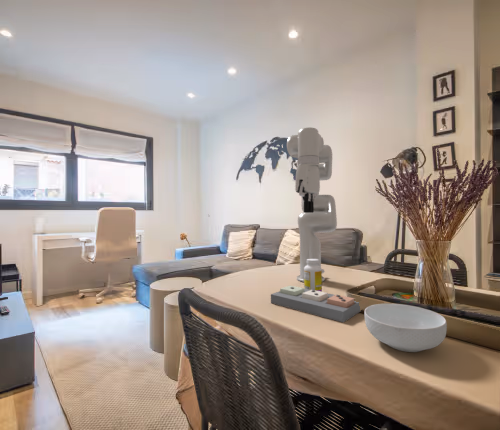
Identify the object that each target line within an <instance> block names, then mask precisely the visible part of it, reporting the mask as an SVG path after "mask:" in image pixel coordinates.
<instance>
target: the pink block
mask: <svg viewBox="0 0 500 430" xmlns="http://www.w3.org/2000/svg"><path fill="white" fill-rule="evenodd" d="M333 295H334V296H332V297H330V298H328V299H327V304H330V305H335V306H339V307H343V308H348V307H350V306H352V305H353V304H354V299H355V297H350V296H344V295H341V294H333Z"/></svg>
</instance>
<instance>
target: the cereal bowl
mask: <svg viewBox="0 0 500 430" xmlns="http://www.w3.org/2000/svg"><path fill="white" fill-rule="evenodd" d="M364 321H365V322H364V323H365V327H366V328H367V330H368V331H369V333H370V334H371V335H372V336H373V338H375V339H377V340H378V341H380V342H381V343H383V344H386V345H387V346H389V347H390V348H392V349H395V350H398V351H401V352H407V353H418V352H422V351H424V350H430V349H433V348H435V347H437V346H438V347H439V345H441V343H442V342H443V341H444V340H445V338H446V335H447V328H448V327H447V326H448V324H447V320H446V318H445V317H444V315H441V314H440V313H438V312H436V311H433V310H430V309H427V308H423V307H421V306H415V305H409V304H403V303H378V304H377V303H376V304H372V305H369V306H367V307H366V308H365V309H364Z"/></svg>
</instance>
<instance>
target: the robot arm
mask: <svg viewBox="0 0 500 430" xmlns="http://www.w3.org/2000/svg"><path fill="white" fill-rule="evenodd" d="M324 141H325V140H324V138H323V137H322V135H321V134H320V133H319V130H318V129H317V128H315V127H303V128H301V129H299V130H298V132H297V134H295V135H294V134H292V135H290V136H289V137H288V138H287V141H286V150H287V153H288V155H289V156H290V157H291V158H294V159H297V167H296V171H295V186H294V187H295V188H294V190H295V192H296V193H297V194H298V196H300V197H301V211H302V212H301V213H300V214H298V217H297V225H298V231H299V233H298V234H299V275H297V276H296V280H297V281H299V282H302V283H304V267H305V266H307V259H318V260H319V264H318V266H320V267H321V269H322V274H324V273H325V269H324V268H322V244H321V239H320V238H319V237H318V235H316V233H333V232H335V231H336V230H337V227H338V221H337V220H338V219H337V209H336V200H335V198H334V196H333V195H331V194H320V190H321V185H320V183H321V181H329V180H330V179H331V177H332V173H333V149H332V148H331V146H330V145H329V144H324V143H325V142H324ZM325 279H326V278H325V277H324V276H323V275H322V283H323V282H324V281H325Z"/></svg>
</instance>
